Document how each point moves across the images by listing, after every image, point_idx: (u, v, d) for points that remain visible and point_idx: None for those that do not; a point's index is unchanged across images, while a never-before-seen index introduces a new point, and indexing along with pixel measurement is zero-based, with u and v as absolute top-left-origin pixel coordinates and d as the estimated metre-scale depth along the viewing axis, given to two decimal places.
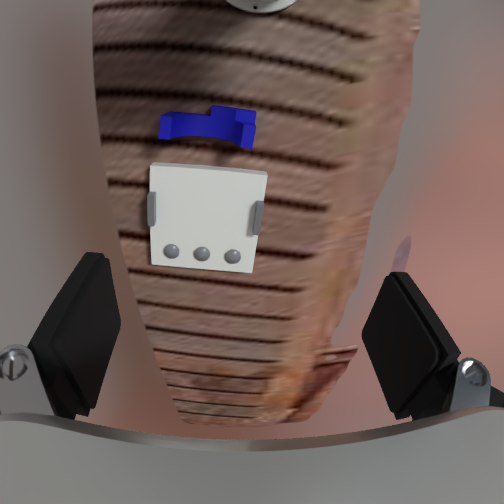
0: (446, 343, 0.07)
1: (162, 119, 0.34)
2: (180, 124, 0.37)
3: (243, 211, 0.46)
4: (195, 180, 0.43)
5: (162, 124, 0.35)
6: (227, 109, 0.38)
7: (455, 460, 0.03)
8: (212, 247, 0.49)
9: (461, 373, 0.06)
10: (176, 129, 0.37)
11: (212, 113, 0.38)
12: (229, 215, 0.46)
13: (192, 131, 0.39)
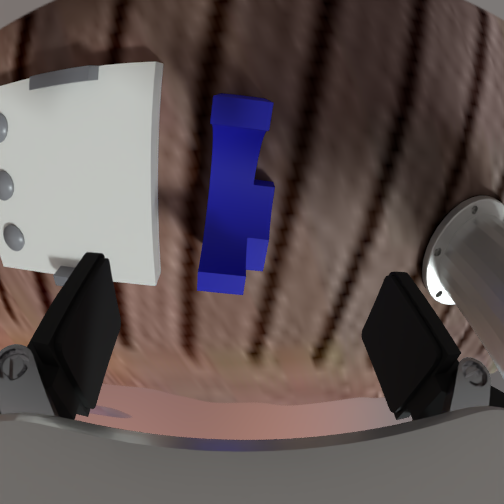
0: (446, 343, 0.07)
1: (263, 107, 0.14)
2: (240, 134, 0.17)
3: None
4: (125, 161, 0.19)
5: (250, 106, 0.14)
6: (267, 218, 0.22)
7: (455, 460, 0.03)
8: (16, 202, 0.20)
9: (461, 373, 0.06)
10: (231, 129, 0.16)
11: (259, 188, 0.21)
12: (72, 228, 0.21)
13: (222, 152, 0.19)
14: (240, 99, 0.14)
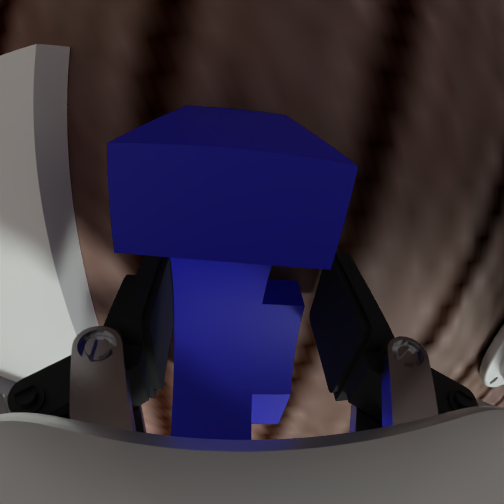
0: (375, 319, 0.07)
1: (318, 183, 0.04)
2: None
3: (10, 366, 0.12)
4: (15, 256, 0.08)
5: (263, 182, 0.04)
6: (288, 357, 0.11)
7: (455, 460, 0.03)
8: None
9: (393, 357, 0.06)
10: None
11: (273, 309, 0.10)
12: None
13: None
14: (219, 151, 0.03)
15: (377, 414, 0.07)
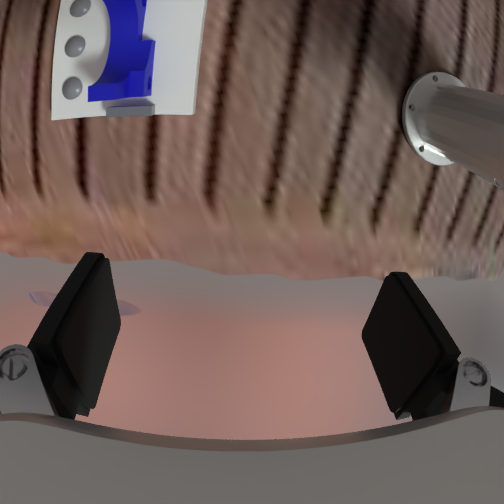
0: (446, 343, 0.07)
1: None
2: (122, 5, 0.19)
3: None
4: (184, 22, 0.23)
5: None
6: (146, 59, 0.23)
7: (455, 460, 0.03)
8: (84, 58, 0.24)
9: (461, 373, 0.06)
10: (114, 1, 0.18)
11: (141, 42, 0.23)
12: None
13: (115, 23, 0.21)
14: None
15: None
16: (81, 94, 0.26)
